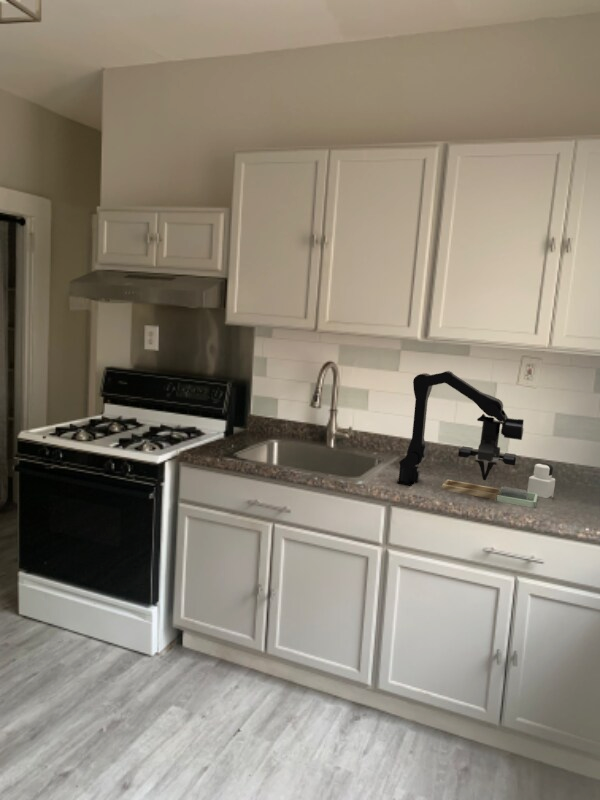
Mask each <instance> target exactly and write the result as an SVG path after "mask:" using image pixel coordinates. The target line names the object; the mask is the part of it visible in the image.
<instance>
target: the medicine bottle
mask: <svg viewBox="0 0 600 800" xmlns="http://www.w3.org/2000/svg"><path fill="white" fill-rule="evenodd" d="M533 468H534V469H533V475H531V476H529V477H528V480H527V489H526V490H528V492H529V493H535V494H538V497H540V498H544V499H549V498H551V499H552V498H553V497H554V492H555V484H556V478H554V477H553V472H554V467H553V466H552V465H551V464H549V463H543V462H537V463H535V464H534V467H533Z"/></svg>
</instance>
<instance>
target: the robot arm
mask: <svg viewBox="0 0 600 800" xmlns="http://www.w3.org/2000/svg"><path fill="white" fill-rule="evenodd" d="M412 383H413V385H412V387H413V393H414V398H415V401H414V412H413V413H414V414H413V425H412V432H411V434H412V435H411V439H410V441H409V445H408V448H407V451H406V454H405V455H406V456H405V457H404V458H402V459H401V460H400V461H399V473H398V480H396V483H397V484H402V485H406V486H413V485H415V483H417V484H418V483H419V482H420V475H421V471H419V470H420V466H419V465H420V464H421V463H422V462H423V461H425V459H426V457H427V456H428V455H429V453H428V451H429V450H428V449H429V445H430V443H426V441H425V431H426V422H427V421H426V420H427V411H428V409H427V408H428V402H429V397H430V394H431V392H432V388H433V387H434V386H437V385H442V384H446V385H448V386H449V387H452V388H453V389H455V390H456V391H457V392H459V393H460V394H462V395H463V396H465V397H466V398H468V400H471V401H472V402H474V403H475V405H477V407H479V410H480V409H481V411H482V412H483V414H482V415H480V417H478V418H477V419H476V420H477V422H482V428H481V429H482V430H481V437H480V443H479V445H478V449H477V450H474V448H473V447H469V446H464V445H463V446H462V447H460V448H459V449H458V454H457V455H458V457H460V458H465V459H468V458H470V457H472V456H473V457H475V459H474V462H476V463H478V465H479V468H480V471H481V476H482V481H487V479H488V476H489V474H490V472H491V470H492V469H493V467H494V466H495V465H496V466H497V465H498V464H499V462H500V461H502V462H503V463H504V465H508V466H515V465H516V464H517V461H518V456H517V455H516V454H515V453H508V452H505V453H504V454H501V447H499V439H500V434H501V435H502V436H503V437H504V438H505V439H512V440H518V441H522V440H523V434H524V419H522V418H518V419H517V418H509V417H508V415H507V414H506V412H505V410H504V404H503V402H502V400H501V399H499V398H497V397H495V396H492V395H490V394H487V393H486V392H485V393H484V392H482V391H480V390H479V389H477V388H476V387H474V386H473V385H471V384H469V383H468V382H466V381H465V380H463V379H462V378H460V377H458V375H456V374H454V373H453V372H452V371H450V370H446V371H443V372H439V373H436V374H435V373H434V374H429V373H428V372H427V373H425V372H423V373H420V374H417V375H416V376H415V377H414V378H413V382H412ZM485 414H486V415H487V416H486V415H485ZM486 461H487V462H486ZM486 465H487V466H486Z"/></svg>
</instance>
